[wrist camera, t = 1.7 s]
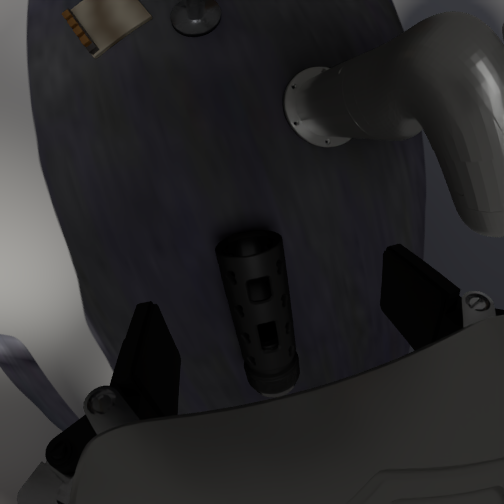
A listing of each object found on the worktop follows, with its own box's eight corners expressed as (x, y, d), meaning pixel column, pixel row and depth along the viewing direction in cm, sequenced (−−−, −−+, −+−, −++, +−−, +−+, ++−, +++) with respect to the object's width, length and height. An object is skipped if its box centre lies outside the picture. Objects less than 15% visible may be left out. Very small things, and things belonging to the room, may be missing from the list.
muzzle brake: (273, 222, 43) (293, 247, 34) (291, 355, 54) (306, 392, 45) (211, 236, 42) (214, 265, 33) (245, 366, 53) (254, 406, 44)
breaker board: (118, -21, 23) (112, -31, 19) (152, 18, 28) (148, 8, 24) (66, 17, 24) (57, 9, 20) (96, 59, 29) (86, 52, 25)
